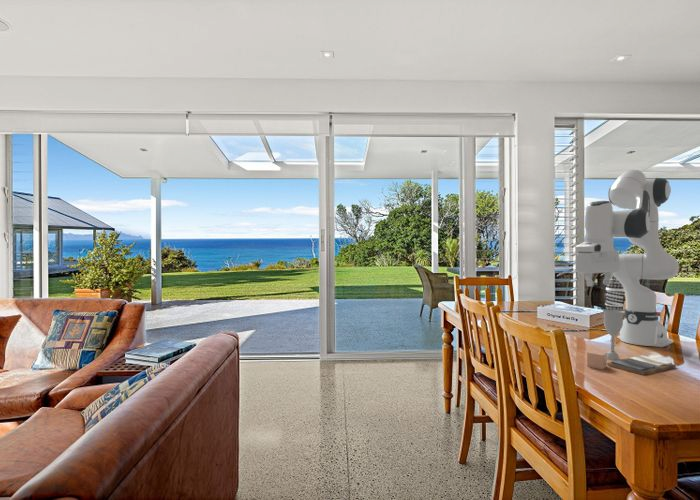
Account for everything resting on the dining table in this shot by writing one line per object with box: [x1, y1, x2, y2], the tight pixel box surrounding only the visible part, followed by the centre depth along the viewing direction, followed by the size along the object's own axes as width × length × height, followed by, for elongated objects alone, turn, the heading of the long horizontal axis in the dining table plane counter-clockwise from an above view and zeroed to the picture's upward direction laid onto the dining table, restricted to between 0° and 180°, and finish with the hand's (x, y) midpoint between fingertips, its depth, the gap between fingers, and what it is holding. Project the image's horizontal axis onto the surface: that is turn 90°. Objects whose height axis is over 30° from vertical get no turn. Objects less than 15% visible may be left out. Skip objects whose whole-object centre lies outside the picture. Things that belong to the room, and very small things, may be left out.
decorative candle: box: [604, 278, 626, 320], centre depth 218 cm, size 9×9×25 cm
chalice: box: [602, 309, 625, 361], centre depth 162 cm, size 7×7×18 cm
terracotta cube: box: [586, 349, 608, 370], centre depth 151 cm, size 5×5×5 cm
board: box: [607, 355, 676, 376], centre depth 152 cm, size 20×12×2 cm, turn 117°
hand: (598, 285), depth 151 cm, fingers open, 8 cm apart
